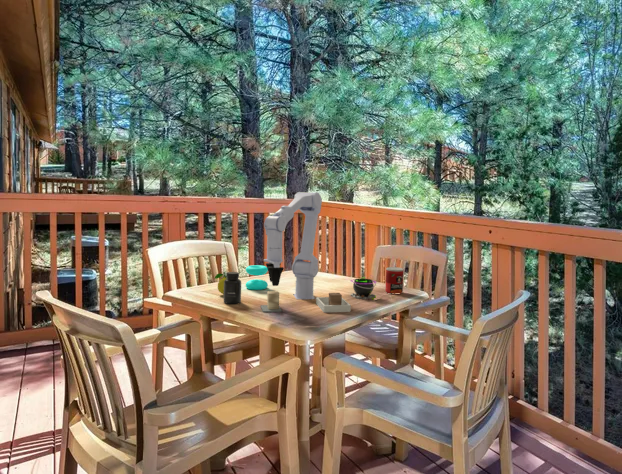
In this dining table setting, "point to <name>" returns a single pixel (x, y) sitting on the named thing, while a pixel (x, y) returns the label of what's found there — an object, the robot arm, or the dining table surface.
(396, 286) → the canned food
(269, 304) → the birch block
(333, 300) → the walnut block
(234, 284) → the supplement bottle
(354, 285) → the toy cauldron
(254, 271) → the donuts
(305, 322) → the dining table surface
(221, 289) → the pear
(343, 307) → the parts bin
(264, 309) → the rubber mat
